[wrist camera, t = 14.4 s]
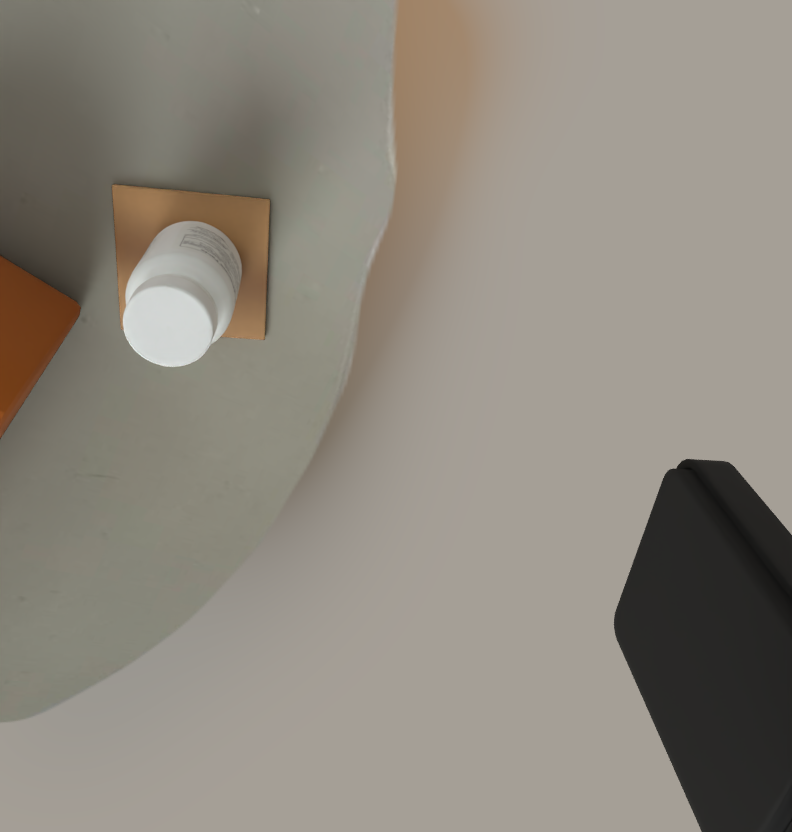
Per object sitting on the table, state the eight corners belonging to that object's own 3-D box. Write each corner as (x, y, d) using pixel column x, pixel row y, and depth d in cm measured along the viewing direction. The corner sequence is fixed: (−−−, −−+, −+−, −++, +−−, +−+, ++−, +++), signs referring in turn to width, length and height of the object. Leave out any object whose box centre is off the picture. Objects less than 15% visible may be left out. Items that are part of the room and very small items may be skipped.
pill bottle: (172, 319, 37) (140, 392, 30) (132, 235, 35) (88, 293, 28) (256, 293, 36) (243, 360, 30) (221, 206, 34) (198, 258, 28)
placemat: (113, 183, 34) (111, 185, 33) (270, 199, 35) (270, 200, 34) (122, 327, 37) (120, 329, 37) (264, 337, 38) (264, 340, 38)
